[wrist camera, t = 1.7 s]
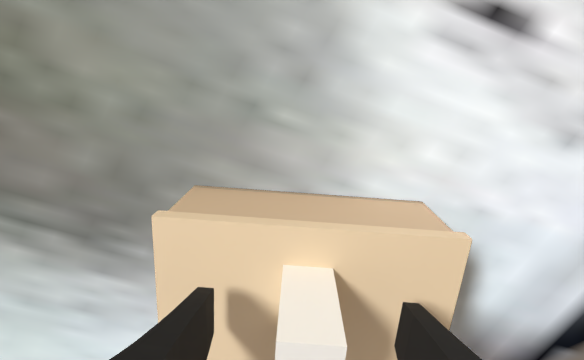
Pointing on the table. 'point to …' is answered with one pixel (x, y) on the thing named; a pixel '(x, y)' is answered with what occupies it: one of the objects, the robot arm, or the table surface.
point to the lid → (305, 282)
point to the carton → (309, 208)
